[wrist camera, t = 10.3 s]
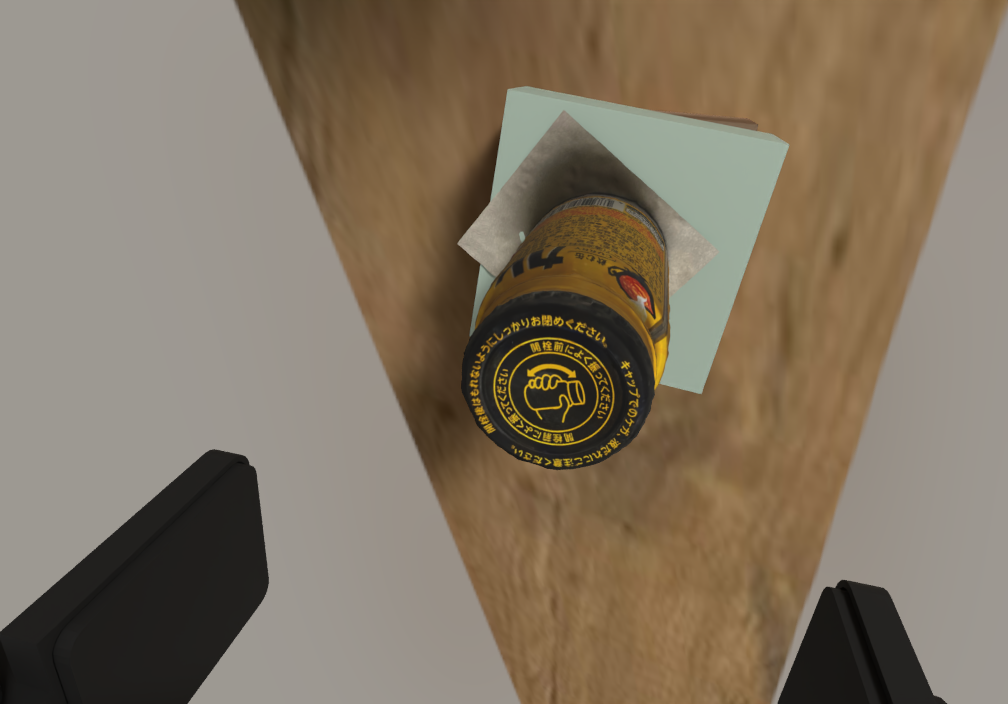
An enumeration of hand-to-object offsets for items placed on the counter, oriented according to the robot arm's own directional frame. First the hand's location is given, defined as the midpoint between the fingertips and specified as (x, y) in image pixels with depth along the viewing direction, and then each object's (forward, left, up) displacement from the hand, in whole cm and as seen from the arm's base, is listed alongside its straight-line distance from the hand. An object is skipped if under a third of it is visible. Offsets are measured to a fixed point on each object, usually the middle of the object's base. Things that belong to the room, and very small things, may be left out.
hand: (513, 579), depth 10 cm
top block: (0, 0, -23) cm, 23 cm away
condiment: (-1, -1, -19) cm, 19 cm away
